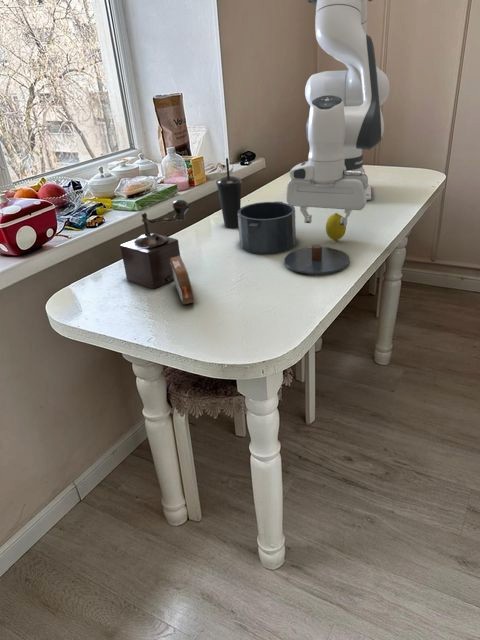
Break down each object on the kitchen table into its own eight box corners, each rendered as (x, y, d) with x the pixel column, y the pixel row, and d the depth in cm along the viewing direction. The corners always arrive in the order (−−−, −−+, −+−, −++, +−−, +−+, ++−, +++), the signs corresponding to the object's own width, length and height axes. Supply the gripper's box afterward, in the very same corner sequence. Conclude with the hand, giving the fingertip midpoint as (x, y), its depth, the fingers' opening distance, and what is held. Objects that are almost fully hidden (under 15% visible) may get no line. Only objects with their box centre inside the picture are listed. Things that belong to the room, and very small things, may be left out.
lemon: (344, 245, 147) (345, 216, 143) (324, 244, 148) (324, 216, 144) (346, 237, 152) (347, 210, 147) (326, 237, 153) (326, 209, 148)
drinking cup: (230, 220, 170) (224, 154, 159) (249, 223, 166) (245, 156, 155) (215, 227, 165) (208, 160, 154) (234, 231, 161) (229, 162, 150)
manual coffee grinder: (155, 290, 128) (142, 217, 119) (125, 280, 134) (111, 209, 125) (200, 268, 139) (191, 198, 129) (170, 259, 145) (160, 192, 135)
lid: (275, 272, 134) (275, 255, 131) (295, 248, 147) (295, 232, 144) (341, 279, 128) (341, 261, 126) (355, 253, 141) (356, 237, 139)
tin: (196, 308, 119) (191, 274, 115) (182, 311, 119) (176, 276, 114) (185, 282, 132) (180, 249, 127) (172, 284, 131) (167, 251, 126)
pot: (227, 255, 145) (224, 221, 140) (255, 229, 162) (253, 197, 157) (282, 260, 140) (281, 225, 135) (305, 232, 157) (304, 200, 152)
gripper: (370, 167, 131) (368, 222, 138) (291, 164, 137) (292, 217, 145) (365, 174, 126) (363, 231, 133) (283, 171, 132) (285, 225, 140)
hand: (325, 223), depth 139 cm, fingers open, 8 cm apart
